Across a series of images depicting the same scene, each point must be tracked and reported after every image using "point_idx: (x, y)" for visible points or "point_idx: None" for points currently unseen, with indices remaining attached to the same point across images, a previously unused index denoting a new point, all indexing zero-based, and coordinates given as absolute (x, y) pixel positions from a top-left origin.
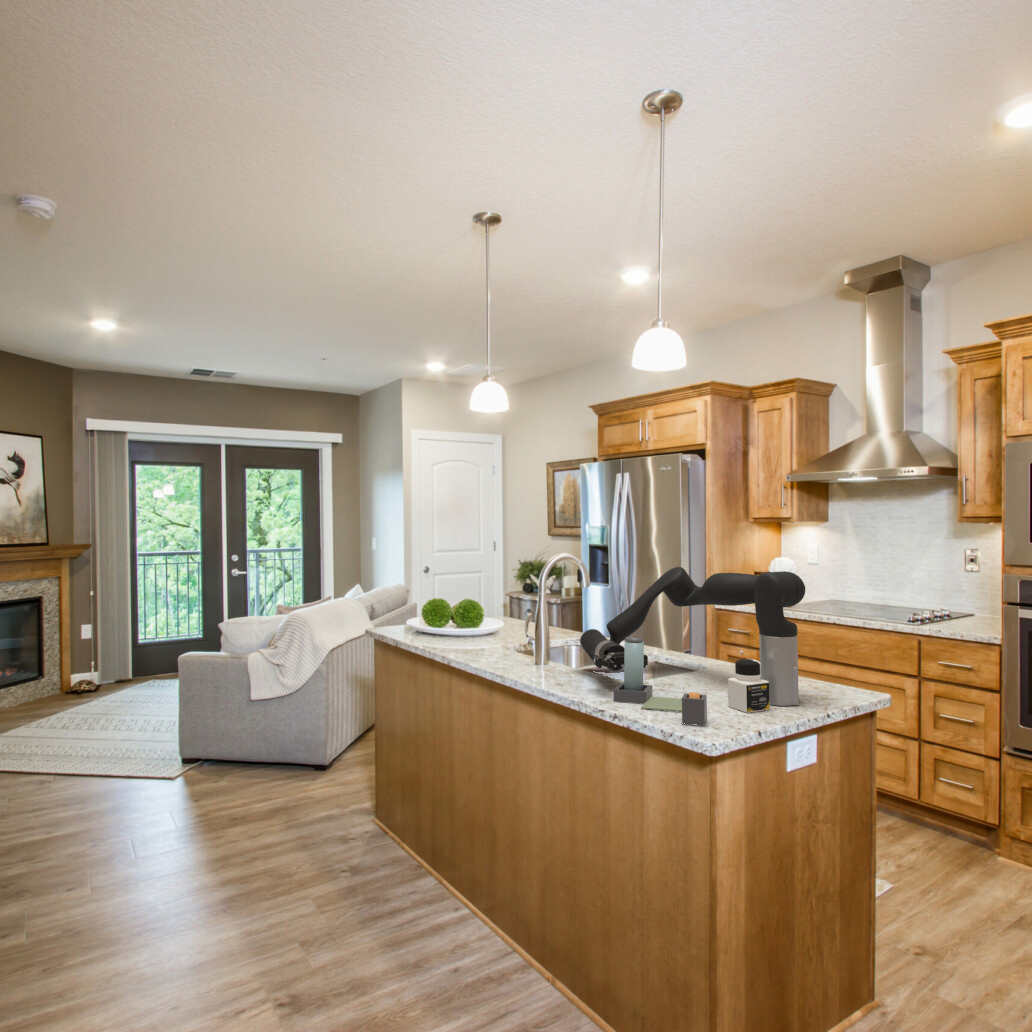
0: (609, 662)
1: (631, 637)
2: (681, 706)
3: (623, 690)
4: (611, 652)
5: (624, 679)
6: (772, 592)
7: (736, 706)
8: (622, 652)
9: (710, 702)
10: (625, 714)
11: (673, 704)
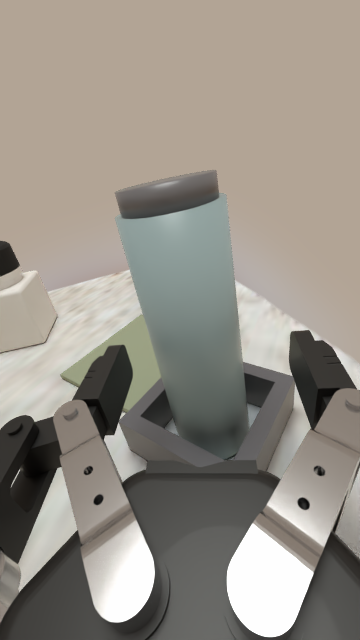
0: (322, 352)
1: (175, 179)
2: (135, 335)
3: (257, 368)
4: (302, 598)
5: (243, 369)
6: None
7: (49, 323)
8: (143, 536)
9: (40, 371)
10: (273, 316)
11: (141, 347)
